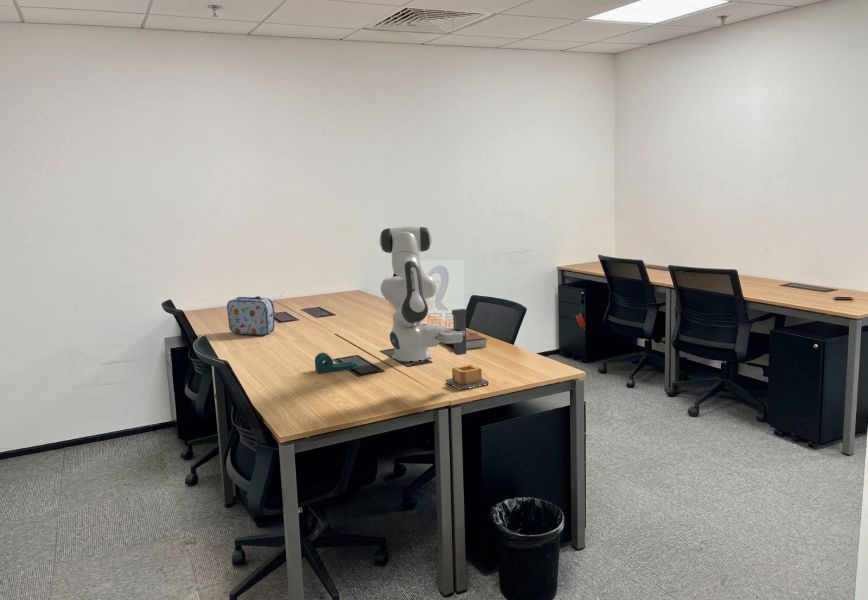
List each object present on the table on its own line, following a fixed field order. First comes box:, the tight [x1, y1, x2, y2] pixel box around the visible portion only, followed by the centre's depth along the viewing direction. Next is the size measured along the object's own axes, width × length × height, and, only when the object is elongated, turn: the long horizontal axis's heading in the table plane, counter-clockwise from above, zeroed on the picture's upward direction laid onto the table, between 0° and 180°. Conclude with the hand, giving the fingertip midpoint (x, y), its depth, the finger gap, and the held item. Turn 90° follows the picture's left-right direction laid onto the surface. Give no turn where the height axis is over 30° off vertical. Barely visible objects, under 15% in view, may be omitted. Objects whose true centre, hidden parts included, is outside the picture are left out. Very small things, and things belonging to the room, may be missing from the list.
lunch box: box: [226, 295, 277, 336], centre depth 387 cm, size 28×10×22 cm, turn 73°
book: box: [441, 329, 488, 351], centre depth 351 cm, size 26×18×5 cm
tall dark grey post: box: [451, 308, 467, 356], centre depth 277 cm, size 5×3×18 cm, turn 116°
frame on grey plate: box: [445, 364, 489, 389], centre depth 281 cm, size 13×12×6 cm
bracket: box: [314, 352, 358, 375], centre depth 309 cm, size 18×7×8 cm, turn 111°
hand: (461, 331), depth 277 cm, fingers closed on tall dark grey post, 3 cm apart
